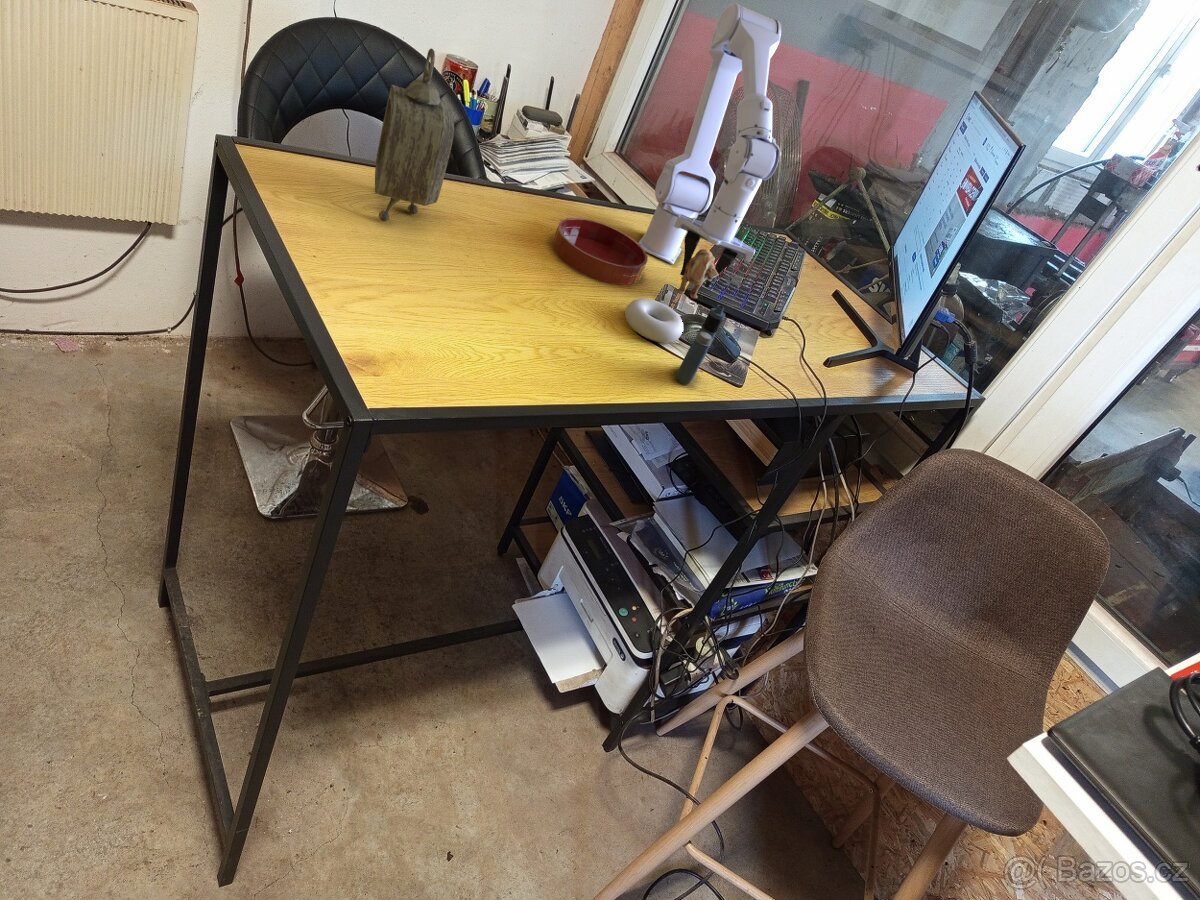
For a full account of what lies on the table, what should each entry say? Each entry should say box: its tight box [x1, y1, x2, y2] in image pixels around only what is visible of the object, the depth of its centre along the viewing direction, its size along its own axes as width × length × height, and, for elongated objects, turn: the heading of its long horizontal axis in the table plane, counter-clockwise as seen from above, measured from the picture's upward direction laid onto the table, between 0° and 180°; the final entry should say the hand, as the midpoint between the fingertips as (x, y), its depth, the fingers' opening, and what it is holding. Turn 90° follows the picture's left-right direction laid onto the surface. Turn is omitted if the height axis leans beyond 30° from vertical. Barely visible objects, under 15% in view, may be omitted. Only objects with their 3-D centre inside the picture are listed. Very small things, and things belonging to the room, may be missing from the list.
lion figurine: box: [676, 248, 719, 300], centre depth 136 cm, size 15×5×9 cm, turn 173°
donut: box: [624, 297, 684, 344], centre depth 125 cm, size 10×3×10 cm
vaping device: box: [675, 304, 726, 386], centre depth 114 cm, size 3×5×12 cm, turn 161°
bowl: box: [551, 217, 649, 286], centre depth 138 cm, size 17×17×4 cm
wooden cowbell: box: [374, 48, 455, 222], centre depth 118 cm, size 14×9×25 cm, turn 14°
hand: (694, 279), depth 138 cm, fingers closed on lion figurine, 4 cm apart
